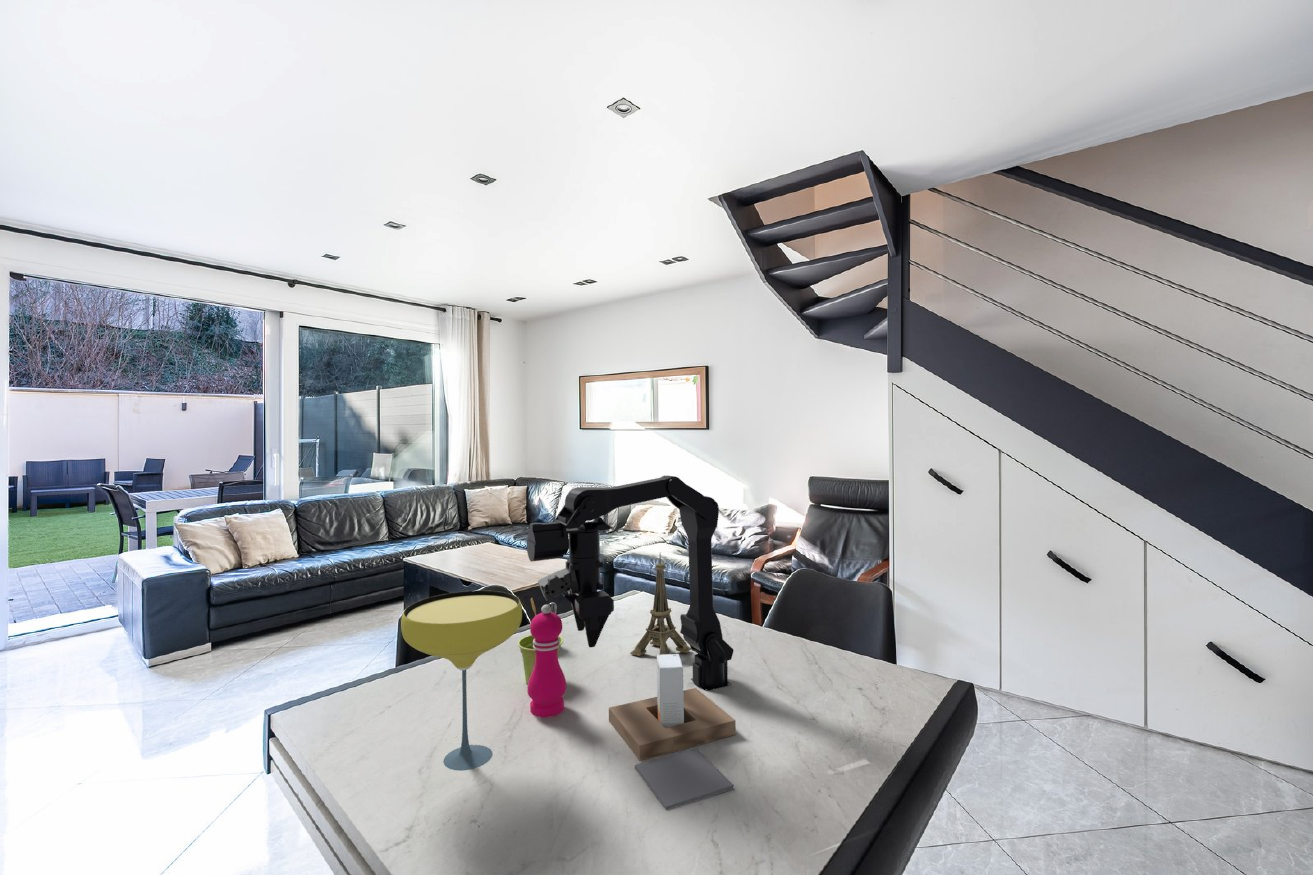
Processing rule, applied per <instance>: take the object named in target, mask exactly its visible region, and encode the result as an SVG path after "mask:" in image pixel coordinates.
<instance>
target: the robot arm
mask: <svg viewBox="0 0 1313 875" xmlns="http://www.w3.org/2000/svg"><path fill="white" fill-rule="evenodd" d="M663 498H666V499H667V500H668V501H669V502H670V504H672V506H674V507H675V508H677V509H678V510H679V516H680V520H681V521H680V522H681V525H682V527H683V530H684V532H685V534H686V537H687V541H688V542H687V543H688V544H687V545H688V576H689V578H688V581H689V608H688V610H687V612H686V614H684V613H681V614H680V617H679V619H680V626H681V628H680V631H679V634H682V638H683V640H684V641H685V642H686V644H687V645H689V647H690V648H691V650H690V651H692V652H695V654H694V656H693V657H694V658H693V659H694V660H693V662H692V678H690V680H691V681H692V683H693V684H694V685H696V686H697V687H698V688H701V689H702V691H705V692H709V691H712V690H717V689H721V688H726V687H730V686H732V683H731V682H729V676H728V674H729V673H728V672H729V670H728V668H729V667H728V661H731V660H732V658H733V655H734V648H732V646H731V645H729V644H728V643H727V642H726V641H725V640H724V636H723V631H722V627H721V622H720V620H719V617H718V615H717V613H716V609H715V608H714V607H715V606H714V590H713V588H714V585H713V584H714V583H713V582H714V580H713V556H712V554H713V553H712V552H713V550H712V540H713V536H714V533H715V531H716V530H717V527H718V523H719V512H720V507H719V504H718V502H717V501H716V500H715V499H714V498H712V497H710V496H707V495H704V494H703V493H701V492H699V491H698V490H696V489H695V488H693V487H691V486H690V485H688V484H687V483H685V482H684V481H683V480H681V478H680V477H679V476H678V477H677V476H674V475H662V476H660V477H656V478H653V479H652V478H651V479H648V480H642V481H636V482H632V483H631V482H630V483H625V484H621V485H617V486H610V487H606V486H605V487H599V486H597V487H596V486H595V487H594V486H585V487H584V486H583V487H582V486H581V487H580V486H578V487H574V488H571V489H570V490H569V491H568V493H567V494H566V496H565V499H564V505H563V506H562V508H561V509H560V511H559V512H558V514H557V515H556V517H555V519H554V520H553V521H551V522H550V521H549V522H530V524H529V531H528V533H527V539H526V551H527V552H526V553H527V557H528V560H529V561H530V562H539V561H540V562H541V561H549V560H556V559H563V558H564V557H565V555H567V554H568V555H569V556H568V559H566V561H565V568H562V569H560V570H557V571H554V572H553V573H550V574H548V575H546V576H544V577H543V578H540V579H539V580H538V581H537V583H538V585H539V589H540V590H541V593H542V595H543V596H542V597H543V598H544V599H545V601H546V602H552V601H553V600H555V599H556V598H557V597H559V596H561V595H563V597H564V598H565V599H566V600H567V601H568V602H569V603H570V604H571V608H572V612H573V617H574V622H575V624H576V628H577V631H578V632H582V631H584V630H585V635H586V639H587V645H588V648H594V647H596V646H597V643H598V640H599V638H600V636H601V633H602V631H603V629H604V627H605V625H606V622H608V619H609V617H610V615H611V614H612V613H613V612H614V611H615V604H614V602H615V600H614V599H613V597H611V596H610V594H608V593H607V592H605V591H604V583H603V582H601V568H604V563H603V561H602V560H601V556H600V555H601V554H600V553H601V552H600V550H601V549H600V548H601V547H600V541H601V540H600V536H601V535H600V531H610V529H611V526H610V525H609V524H608V523H606V521H604V519H603V517H604V516H607V515H608V514H610V513H611V512H612V511H614V510H616V509H619V508H622V507H626V506H630V505H635V504H640V503H644V502H650V501H654V500H655V501H656V500H659V499H663Z"/></svg>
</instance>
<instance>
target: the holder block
mask: <svg viewBox="0 0 1313 875" xmlns="http://www.w3.org/2000/svg"><path fill="white" fill-rule="evenodd" d="M683 693H684V723H683V724H680V725H676V726H672V727H668V728H665V727H664V726H663V725H662V724H661V723H660V722H659V721H658V699H657V696H655V697H649V698H644V699H640V700H637V701H630V702H628V703H624V704H623V703H622V704H619V705H615V706H610V707H608V723H610V725H611V726H612V728H613V729H614V730H615V731H616V732H617V734H618V735H619V736H620V737H621V739H622V740H623V741H624V743H625V744H626V745H627V747H628V748H629V749H630V750H631V751H632V753H633V755H635V757H636V758H637V759H638V761H639V762H640V761H644V760H647V759H653V758H656V757H660V756H664V755H669V754H673V753H675V752H678V751H682V750H687V749H689V748H690V749H691V748H692V747H697V746H700V745H703V744H707V743H711V742H715V741H718V740H721V739H725V738H729V737H732V736H735V735H736V733H737V732H736V727H737V726H736V719H735V718H733V717H732V716H731V715H730V714H728V713H727V712H726V711H725V710H724V709H722V707H720V706H719V705H718V704H716V703H715V702H714V701H713V700H711V699H710V698H709V697H708V696H707V695H705V694H704V693H703V692H701V691H700V690H699V689H698V688H696V687H693V688H690V689H685V690H684V689H683Z"/></svg>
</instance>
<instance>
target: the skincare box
mask: <svg viewBox="0 0 1313 875" xmlns="http://www.w3.org/2000/svg"><path fill="white" fill-rule="evenodd" d="M656 682H657V683H656V685H657V686H656V688H657V689H656V690H657V691H656V692H657V693H656V697H657V699H658V719H657V720H658V721H659V722H660V723H661V724H662V725H663V726H664V727H665V728H668V727H672V726H676V725H680V724H683V723H684V693H683V691H684V666H683V663H682V659H681V657H680V654H679V653H676V654H675V653H674V654H673V653H672V654H671V653H670V654H666V655H659V654H657V655H656Z"/></svg>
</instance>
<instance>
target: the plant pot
mask: <svg viewBox="0 0 1313 875" xmlns="http://www.w3.org/2000/svg"><path fill="white" fill-rule="evenodd" d="M558 637H559V638H560V641H559V643H560V646H559V647H558V651H557V654H558V658H559V655H560V651H561V648H562V645H563V643H564V638H563V637H562V636H561V635H559V636H558ZM534 639H535V638H534V637H533V636H532V635H531V634H530V635H527V636H524V637H522V638H520V639H519V640H517V641H518V642H517V647H519V649H520V653H521V657H522V663H523V670H524V677H525V684H527V685H528V682H529V678H530V676H531V674H532V671H533V669H534V666H535V660H536V652H535V649H534V648H533V645H534V643H533V640H534Z"/></svg>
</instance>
